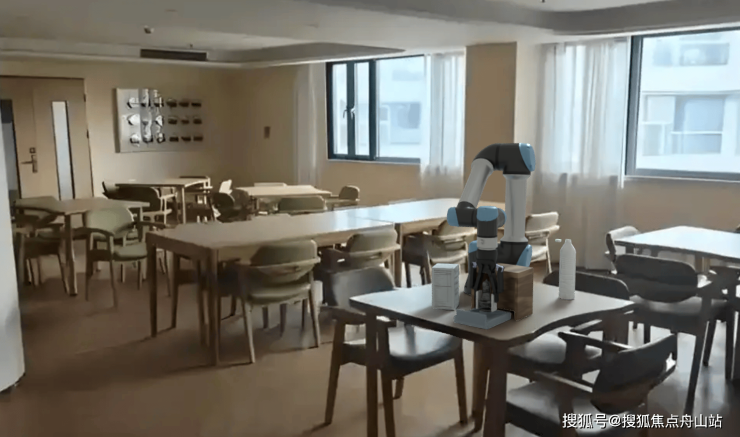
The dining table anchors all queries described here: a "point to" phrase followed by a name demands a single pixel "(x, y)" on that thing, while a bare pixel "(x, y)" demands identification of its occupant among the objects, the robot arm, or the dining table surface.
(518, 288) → the wooden crate
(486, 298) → the dark grey figurine
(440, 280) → the supplement box
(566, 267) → the water bottle
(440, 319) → the dining table surface
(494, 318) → the tray
